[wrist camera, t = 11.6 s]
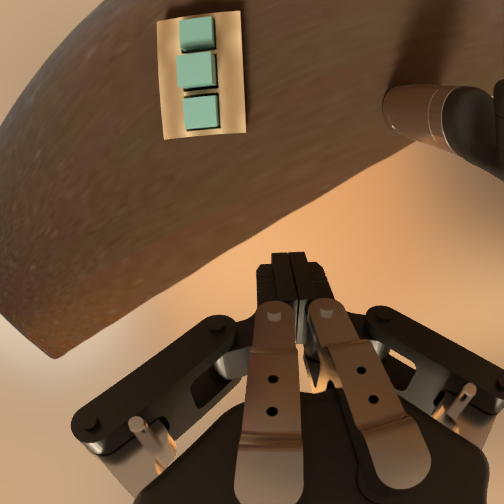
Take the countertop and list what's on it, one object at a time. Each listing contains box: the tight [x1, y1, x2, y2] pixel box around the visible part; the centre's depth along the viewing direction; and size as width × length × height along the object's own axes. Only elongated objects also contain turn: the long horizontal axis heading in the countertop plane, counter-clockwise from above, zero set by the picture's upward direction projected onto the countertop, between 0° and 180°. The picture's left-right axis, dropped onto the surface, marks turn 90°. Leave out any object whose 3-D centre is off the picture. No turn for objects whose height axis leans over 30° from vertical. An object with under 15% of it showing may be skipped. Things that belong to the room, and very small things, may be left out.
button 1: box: [179, 16, 217, 53], centre depth 32 cm, size 4×4×6 cm
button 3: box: [183, 95, 221, 130], centre depth 38 cm, size 4×4×6 cm
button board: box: [157, 11, 246, 140], centre depth 36 cm, size 12×19×4 cm, turn 2°
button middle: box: [176, 51, 217, 89], centre depth 33 cm, size 4×4×6 cm
